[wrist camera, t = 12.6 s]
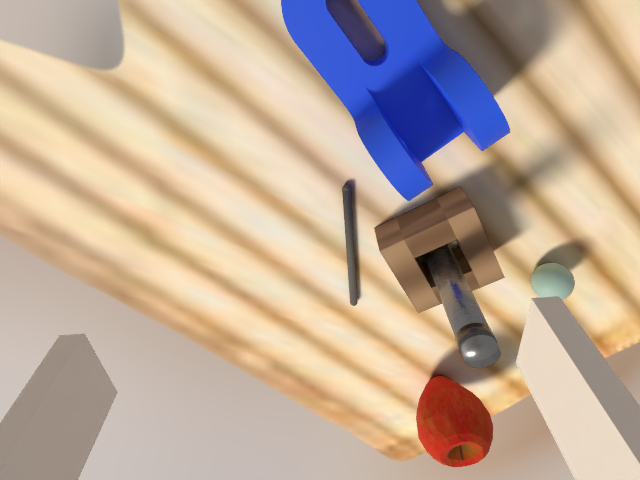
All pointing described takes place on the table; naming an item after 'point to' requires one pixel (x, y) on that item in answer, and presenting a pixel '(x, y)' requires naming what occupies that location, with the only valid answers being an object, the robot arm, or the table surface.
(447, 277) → the grey metal cylinder rod
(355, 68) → the bracket
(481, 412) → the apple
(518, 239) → the table surface
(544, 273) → the loose teal bead
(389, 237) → the square wooden ring
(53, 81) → the table surface
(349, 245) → the thin dark grey rod
